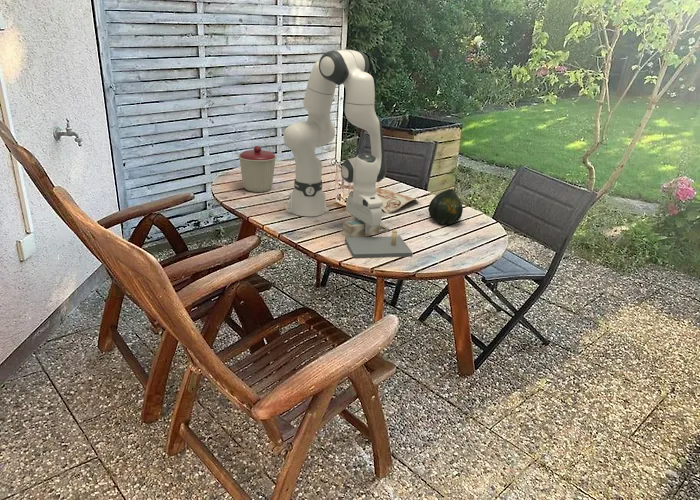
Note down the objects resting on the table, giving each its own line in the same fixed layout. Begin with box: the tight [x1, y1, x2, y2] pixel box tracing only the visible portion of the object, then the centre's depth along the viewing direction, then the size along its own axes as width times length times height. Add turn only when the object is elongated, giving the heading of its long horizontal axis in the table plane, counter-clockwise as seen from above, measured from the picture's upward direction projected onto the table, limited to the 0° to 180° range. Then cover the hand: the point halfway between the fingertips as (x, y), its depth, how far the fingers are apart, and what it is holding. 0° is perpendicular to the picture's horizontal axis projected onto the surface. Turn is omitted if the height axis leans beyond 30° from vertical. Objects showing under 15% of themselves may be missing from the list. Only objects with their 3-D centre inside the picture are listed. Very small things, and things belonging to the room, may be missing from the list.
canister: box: [237, 145, 278, 193], centre depth 252 cm, size 18×18×21 cm
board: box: [344, 229, 414, 259], centre depth 196 cm, size 16×22×7 cm
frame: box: [342, 220, 390, 237], centre depth 211 cm, size 19×6×5 cm, turn 122°
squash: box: [427, 188, 464, 225], centre depth 228 cm, size 14×15×15 cm
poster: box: [376, 187, 419, 214], centre depth 252 cm, size 28×6×30 cm
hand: (361, 229), depth 210 cm, fingers closed on frame, 5 cm apart
